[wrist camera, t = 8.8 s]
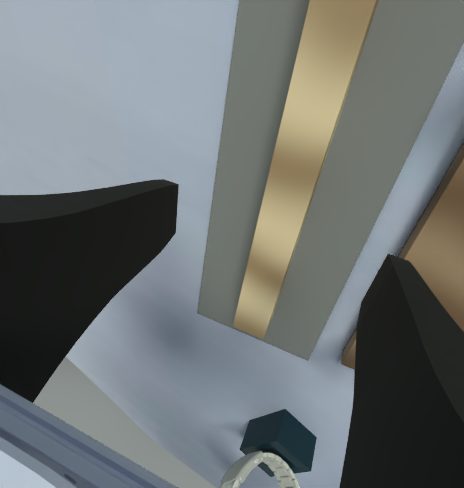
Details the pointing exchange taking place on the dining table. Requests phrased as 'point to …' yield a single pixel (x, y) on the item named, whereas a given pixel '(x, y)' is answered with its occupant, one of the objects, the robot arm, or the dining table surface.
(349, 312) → the dining table surface
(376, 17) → the mat
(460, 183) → the rack
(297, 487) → the watch
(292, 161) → the rail
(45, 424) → the robot arm
